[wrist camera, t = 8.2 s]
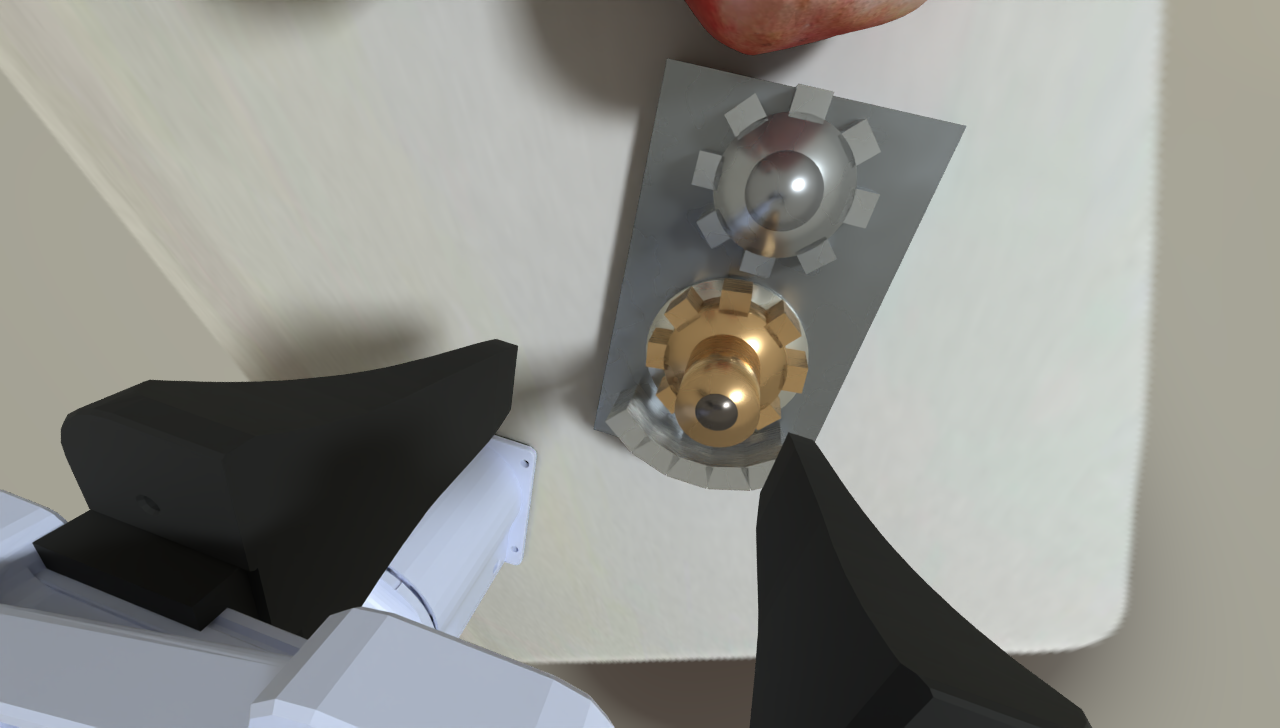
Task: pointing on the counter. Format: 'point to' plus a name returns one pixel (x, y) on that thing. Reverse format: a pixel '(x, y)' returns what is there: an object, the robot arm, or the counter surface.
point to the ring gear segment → (691, 447)
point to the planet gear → (726, 363)
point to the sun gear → (786, 182)
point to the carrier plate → (821, 300)
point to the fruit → (791, 20)
